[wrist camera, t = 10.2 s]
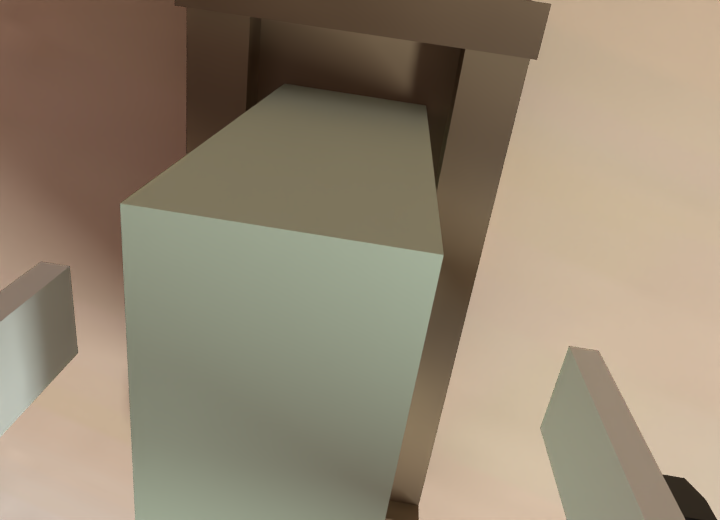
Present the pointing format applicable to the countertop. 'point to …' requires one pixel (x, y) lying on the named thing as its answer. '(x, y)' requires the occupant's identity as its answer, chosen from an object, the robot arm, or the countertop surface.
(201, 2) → the track
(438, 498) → the countertop surface
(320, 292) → the rectangular block
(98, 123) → the countertop surface
